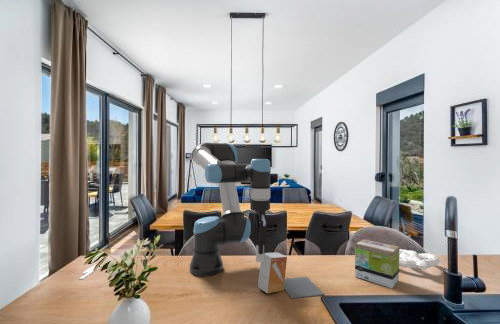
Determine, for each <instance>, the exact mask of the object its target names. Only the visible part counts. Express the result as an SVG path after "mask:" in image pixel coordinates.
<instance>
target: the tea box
mask: <svg viewBox="0 0 500 324" xmlns="http://www.w3.org/2000/svg"><path fill="white" fill-rule="evenodd" d="M354 248H355V249H354V252H355V253H354V254H355V255H354V276H355V278H359V279H363V280H365V281H368V282H371V283H375V284H377V285H380V286H384V287H386V288H389V289H393V288H394V286H396V284H397V283H398V281H400V279H399V278H400V266H399V250H400V246H398V245H397V246H396V245H393V244H388V243H383V242H378V241H374V240H370V239H364V238H363V239H361V240H360V241H358V242H357V243H355V247H354Z"/></svg>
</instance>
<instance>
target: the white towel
mask: <svg viewBox="0 0 500 324" xmlns="http://www.w3.org/2000/svg"><path fill="white" fill-rule="evenodd" d="M440 262H441V260H440V258H439V256H436V255H435V254H431V253H430V252H429V253H427V252H425V253H419V252H417V251H415V250H407V249H403V248H399V267H403V268H413V269H414V268H416V269H421V270H424V271H425V270H427V269H428V268H432V267H437V266H438V265H439V264H440Z"/></svg>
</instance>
